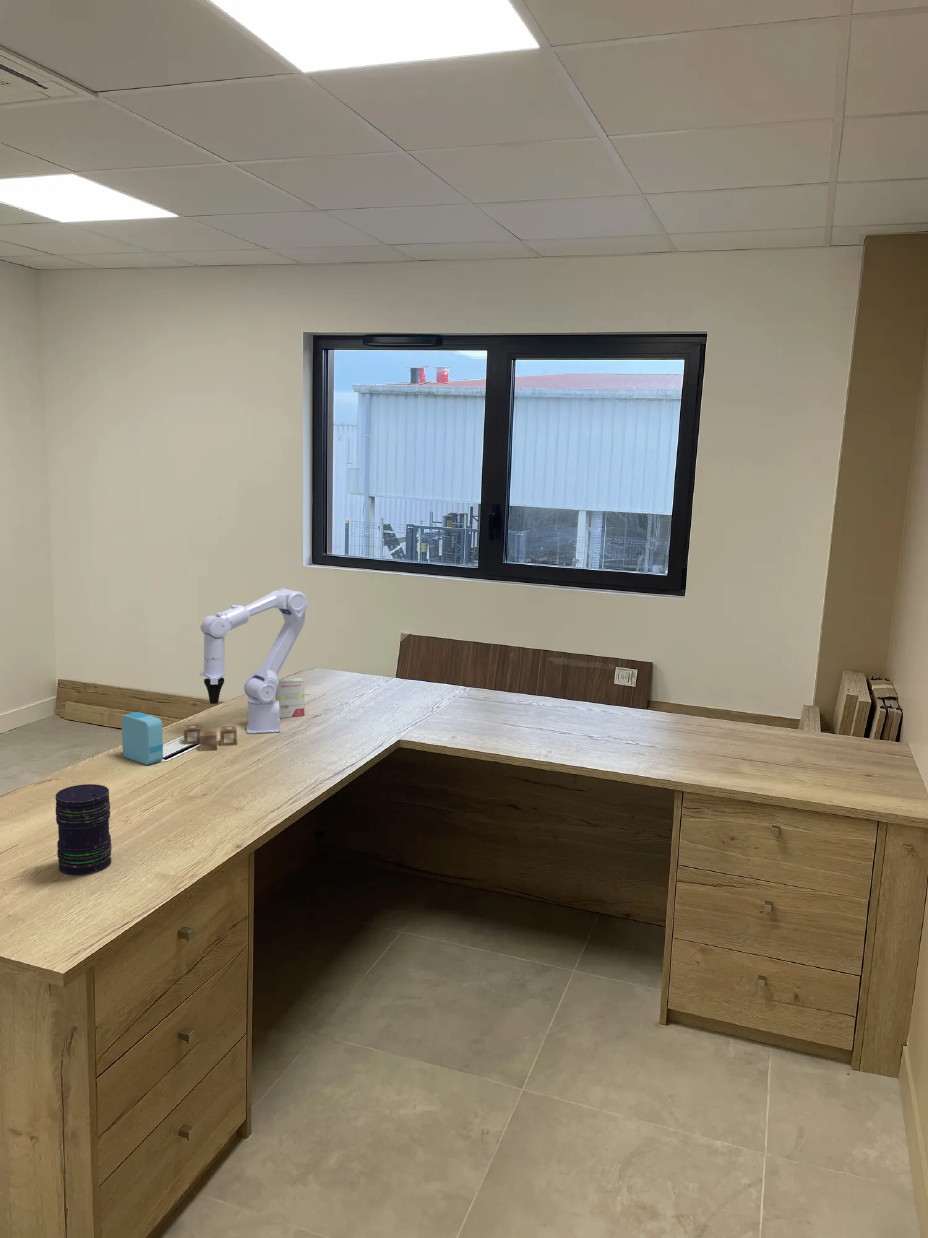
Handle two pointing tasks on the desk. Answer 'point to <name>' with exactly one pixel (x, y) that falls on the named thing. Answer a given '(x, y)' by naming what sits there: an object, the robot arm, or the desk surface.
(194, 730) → the marked block 1
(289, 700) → the ink box
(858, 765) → the desk surface
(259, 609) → the robot arm
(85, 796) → the dark blue barrel
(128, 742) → the data package
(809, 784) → the desk surface
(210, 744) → the plain block
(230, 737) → the marked block 2
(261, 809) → the desk surface
